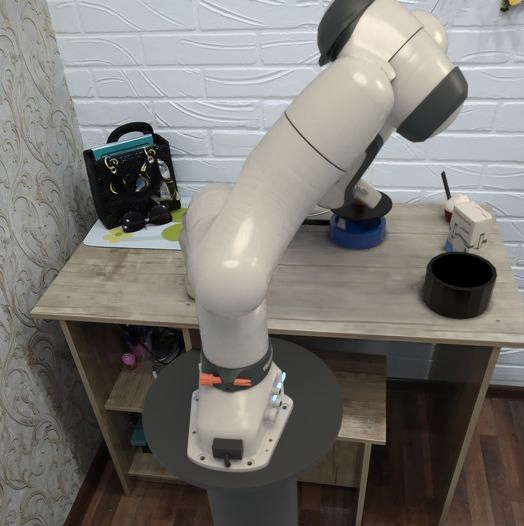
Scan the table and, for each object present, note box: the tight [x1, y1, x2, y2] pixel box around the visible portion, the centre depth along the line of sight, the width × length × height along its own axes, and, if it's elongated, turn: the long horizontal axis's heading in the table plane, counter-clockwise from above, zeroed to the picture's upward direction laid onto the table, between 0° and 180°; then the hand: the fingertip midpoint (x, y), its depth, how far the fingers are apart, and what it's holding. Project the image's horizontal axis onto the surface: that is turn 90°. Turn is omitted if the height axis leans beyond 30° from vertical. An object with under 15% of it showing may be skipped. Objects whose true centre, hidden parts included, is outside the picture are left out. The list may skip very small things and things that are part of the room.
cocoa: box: [440, 170, 471, 223], centre depth 141 cm, size 10×6×12 cm, turn 32°
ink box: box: [444, 200, 494, 258], centre depth 130 cm, size 9×5×12 cm, turn 18°
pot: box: [422, 251, 498, 320], centre depth 120 cm, size 14×14×8 cm
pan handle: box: [300, 218, 330, 227], centre depth 143 cm, size 2×11×2 cm, turn 81°
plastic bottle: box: [178, 211, 195, 300], centre depth 121 cm, size 6×7×20 cm
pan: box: [328, 213, 387, 251], centre depth 141 cm, size 14×14×4 cm
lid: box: [329, 189, 393, 221], centre depth 136 cm, size 15×15×6 cm
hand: (362, 195), depth 136 cm, fingers closed on lid, 2 cm apart
